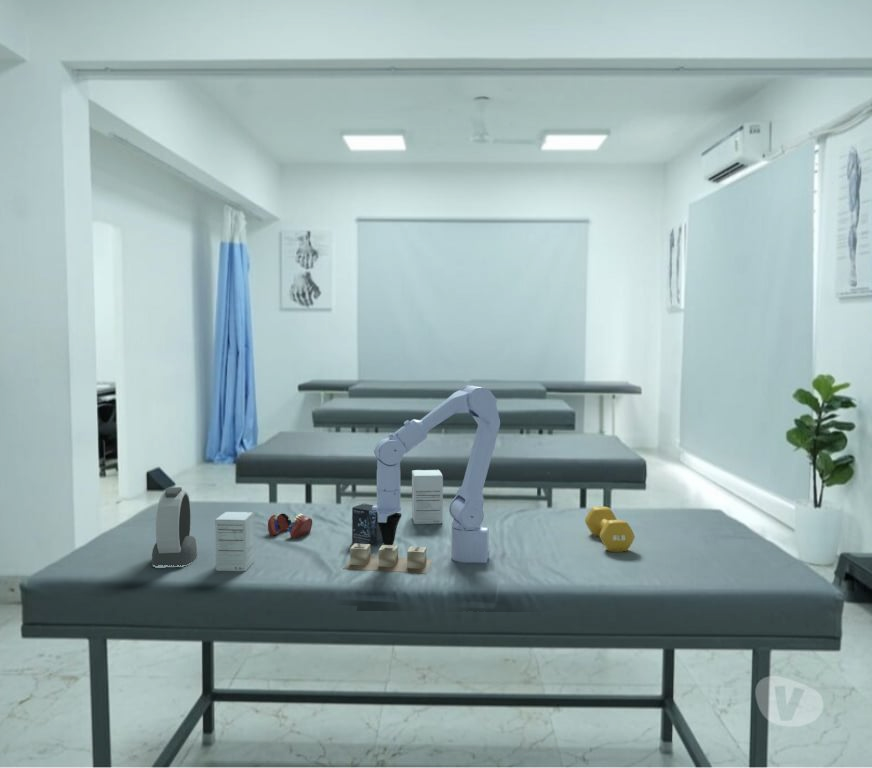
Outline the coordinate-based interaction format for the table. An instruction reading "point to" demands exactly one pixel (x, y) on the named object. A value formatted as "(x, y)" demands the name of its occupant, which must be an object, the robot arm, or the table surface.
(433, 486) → the supplement box
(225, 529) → the supplement box
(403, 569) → the walnut board
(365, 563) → the letter t cube
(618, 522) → the dumbbell
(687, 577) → the table surface
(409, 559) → the block one
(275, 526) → the teeth model
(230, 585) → the table surface
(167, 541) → the alarm clock
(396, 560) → the plain block
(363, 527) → the box
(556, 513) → the table surface
